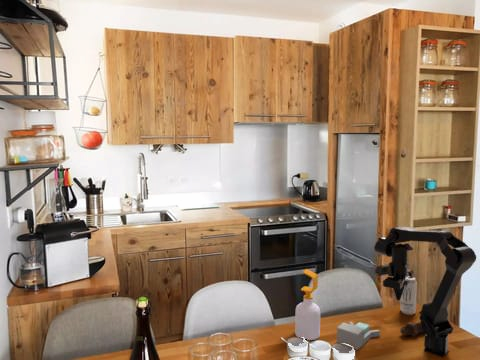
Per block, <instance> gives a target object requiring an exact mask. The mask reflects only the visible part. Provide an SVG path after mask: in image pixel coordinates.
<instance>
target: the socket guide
mask: <svg viewBox="0 0 480 360" xmlns="http://www.w3.org/2000/svg"><path fill="white" fill-rule="evenodd" d="M355 325H356V324H355V323H354V322H353V321H349V323H347V322H342V323H341V324H339V325H338V326H337V328H336V343H337V344H339V343H346V344H349V345H351V346H353V347H354V348H355V349H354V348H353V349H354V350H357V351H358V350H359V349H360V348H361V347H362V346H364V345H365V344H366V343H367V342H368V341H369V340H370V339H371V338H378V337H381V331H380V330H379V329H373V330H370V329H369V331H368V332H367V333H366V334H364V329H363V328H360V327H357V326H355Z"/></svg>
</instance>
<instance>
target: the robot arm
mask: <svg viewBox="0 0 480 360" xmlns="http://www.w3.org/2000/svg"><path fill="white" fill-rule="evenodd" d="M408 242H421V243H422V242H424V243H436V244H437V245H438V248H439V249H440V253H442V255H443V256H444V257H445V259H444V264H445V272H444V274H443V276H442V279H441V280H440V283H439V285H438V288H437V290H436V292H435V294H434V295H433V299H432V301H431V302H427V303H423V304H422V307H421V310H420V311H419V320H420V322H421V325H422V329H423V331H422V333H423V334H424V340H423V341H424V344H423V346H424V349H423V351H425V352H427V353H430V354H434V355H437V356H439V357H443V358H445V357H446V355H447V353H448V352H449V350H450V349H449V347H448V346H449V335H451V334H453V332H454V328H453V326H452V324H451V322H450V321H449V320H448V317H449V313H448V312H449V311H448V306H449V304H450V302H451V300H452V298H453V296H454V293H455V292H456V289H457V287H458V284H459V282H460V281H461V278H462V277H463V275H464V273H466V272H467V271H468V270H470V269H471V267H472V266H473V265H474V263H475V262H476V260H477V255H476V253H475V251H474V249H473V248H471V247H469V245H467V243H466V242H464V241H462V240H461V239H459V238H458V237H456V236H455V235H454V234H453V233H452V232H451V231H450V230H446V229H445V230H427V229H426V230H424V229H422V230H421V229H420V230H419V229H415V228H413V227H408V226H398V227H392V228H391V229H390V230H389V233H388V234H387V236H386V237H384V236H381V237H380V236H379V237H378V240H377V241H376V242H375V245H374V251H375V253H377V254H378V255H382V256H386V257H387V258H388V257H389V258H390V257H391V258H390V259H391V260H390V262H388V264H382V265H377V266H376V267H374V270H375V271H374V273H375V274H377V276H378V277H381V276H387V275H388V276H387V277H386V278H385V279H384V280H382V287H384V288H388V289H393V291H394V295H395V299H396V301H401V297H402V295H403V293H404V291H405V289H406V287H407V286H408V284H409V281H406V279H405V278H406V277H408V276H410V278H413V277H414V278H415V272H414V270H413V269H410V268H408V267H409V265H410V262H409V261H408V260H409V259H408V258H409V256H408V255H409V251H413V250H414V248H413V247H412V246H411V245H410V243H408ZM403 243H404V244H403ZM436 327H437V328H436Z"/></svg>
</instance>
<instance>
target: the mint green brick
mask: <svg viewBox="0 0 480 360" xmlns="http://www.w3.org/2000/svg"><path fill="white" fill-rule="evenodd" d="M354 325H355V326H357V327H360V328H363V329H364V334H366V333H367V332H368V331H370V324H367V323H365V322H364V323H363V322H360V321H359V322H358V323H356V324H354Z"/></svg>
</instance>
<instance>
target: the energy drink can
mask: <svg viewBox="0 0 480 360" xmlns="http://www.w3.org/2000/svg"><path fill="white" fill-rule="evenodd" d="M405 279H406V281H409V284H408V286H407V287H406V289H405V291H404V293H403V295H402V297H401V299H400V311H401V313H402V314H404V315H407V316H413V315H415V313H416V311H417V310H416V309H417V290H418V282H417V278H416V277H415V276H414V277H413V278H410V276H408V277H406V278H405Z"/></svg>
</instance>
